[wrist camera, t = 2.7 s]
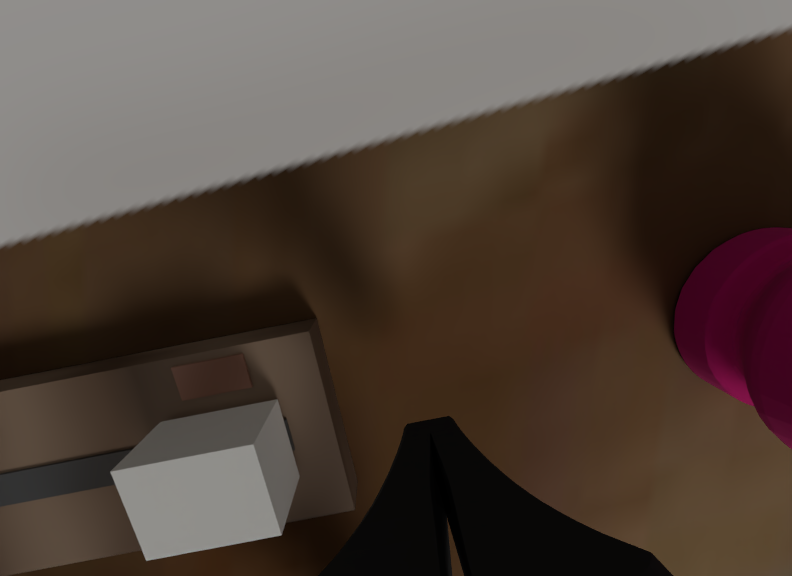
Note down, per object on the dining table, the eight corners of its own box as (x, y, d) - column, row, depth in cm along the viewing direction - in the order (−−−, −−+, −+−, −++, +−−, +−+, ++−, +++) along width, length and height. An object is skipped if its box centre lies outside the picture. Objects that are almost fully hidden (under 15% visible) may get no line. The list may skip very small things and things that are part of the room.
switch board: (-26, 554, 16) (-70, 591, 15) (-106, 401, 15) (-164, 424, 13) (357, 481, 16) (354, 512, 15) (316, 317, 15) (308, 332, 13)
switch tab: (188, 497, 14) (146, 560, 12) (160, 421, 13) (109, 471, 11) (299, 476, 14) (281, 535, 11) (277, 399, 13) (253, 444, 11)
